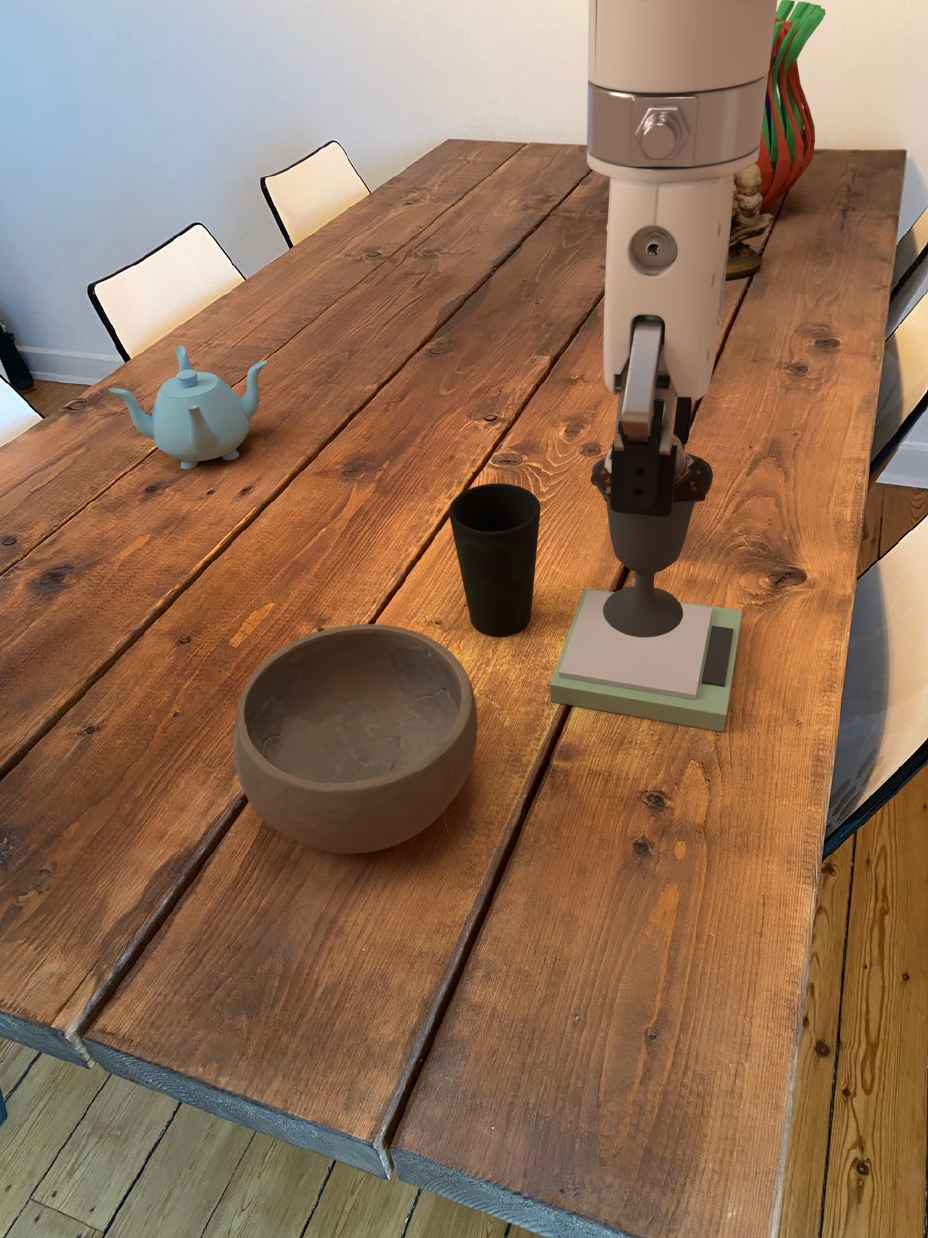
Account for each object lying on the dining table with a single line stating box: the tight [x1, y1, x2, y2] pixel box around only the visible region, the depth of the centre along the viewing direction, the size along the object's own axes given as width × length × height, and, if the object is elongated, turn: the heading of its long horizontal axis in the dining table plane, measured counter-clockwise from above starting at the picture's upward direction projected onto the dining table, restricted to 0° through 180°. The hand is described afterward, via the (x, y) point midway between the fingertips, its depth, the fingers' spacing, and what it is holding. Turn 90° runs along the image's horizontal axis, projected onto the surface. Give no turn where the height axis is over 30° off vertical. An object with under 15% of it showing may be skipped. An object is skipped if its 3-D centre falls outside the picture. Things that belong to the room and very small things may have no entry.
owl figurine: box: [725, 164, 774, 281], centre depth 143 cm, size 18×12×17 cm, turn 88°
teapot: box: [108, 345, 268, 470], centre depth 111 cm, size 13×13×10 cm
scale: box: [549, 587, 743, 733], centre depth 80 cm, size 14×13×3 cm
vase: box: [755, 0, 826, 213], centre depth 160 cm, size 30×30×30 cm
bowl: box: [232, 623, 478, 855], centre depth 69 cm, size 17×18×10 cm
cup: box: [448, 482, 541, 638], centre depth 83 cm, size 8×8×12 cm
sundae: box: [590, 434, 714, 637], centre depth 54 cm, size 7×7×15 cm
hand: (651, 472), depth 53 cm, fingers closed on sundae, 6 cm apart
